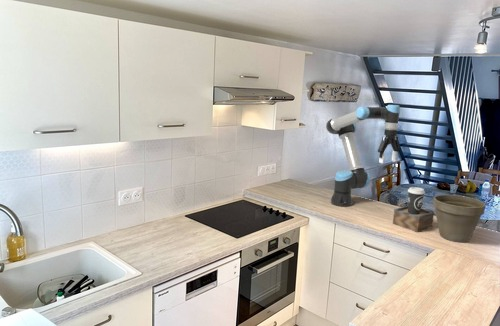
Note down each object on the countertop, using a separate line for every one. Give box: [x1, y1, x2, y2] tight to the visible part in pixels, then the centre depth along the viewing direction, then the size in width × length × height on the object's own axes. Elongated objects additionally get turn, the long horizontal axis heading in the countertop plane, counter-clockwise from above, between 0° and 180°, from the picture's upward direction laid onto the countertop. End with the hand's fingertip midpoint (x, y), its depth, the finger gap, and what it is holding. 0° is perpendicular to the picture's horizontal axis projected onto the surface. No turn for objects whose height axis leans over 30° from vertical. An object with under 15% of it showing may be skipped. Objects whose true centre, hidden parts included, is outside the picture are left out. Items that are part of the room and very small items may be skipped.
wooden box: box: [392, 205, 435, 233], centre depth 218 cm, size 16×16×9 cm
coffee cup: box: [407, 186, 426, 215], centre depth 215 cm, size 10×10×15 cm
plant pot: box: [432, 194, 487, 243], centre depth 200 cm, size 25×25×22 cm
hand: (387, 162), depth 233 cm, fingers open, 13 cm apart
